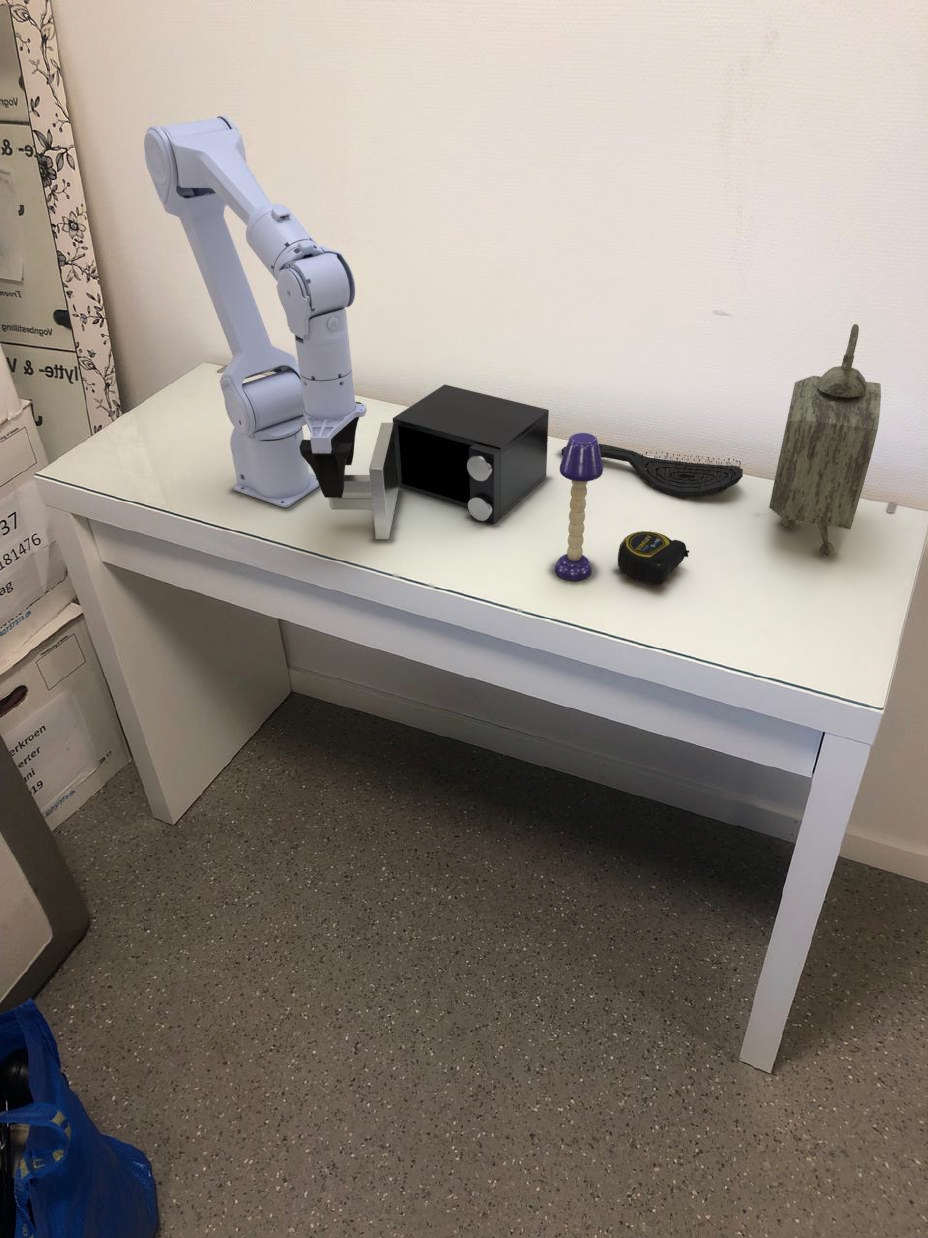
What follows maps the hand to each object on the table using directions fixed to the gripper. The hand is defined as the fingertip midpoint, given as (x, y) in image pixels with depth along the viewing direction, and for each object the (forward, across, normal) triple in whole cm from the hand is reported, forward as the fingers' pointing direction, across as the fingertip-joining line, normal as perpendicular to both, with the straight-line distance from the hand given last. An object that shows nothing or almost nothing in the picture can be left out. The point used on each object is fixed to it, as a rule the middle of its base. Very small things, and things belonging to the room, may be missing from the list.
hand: (338, 479), depth 109 cm
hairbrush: (+8, +15, -39) cm, 42 cm away
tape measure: (+8, -8, -37) cm, 39 cm away
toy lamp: (+8, -7, -28) cm, 30 cm away
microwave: (+8, +12, -15) cm, 20 cm away
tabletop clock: (+8, +2, -56) cm, 57 cm away
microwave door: (+7, +5, -2) cm, 9 cm away
